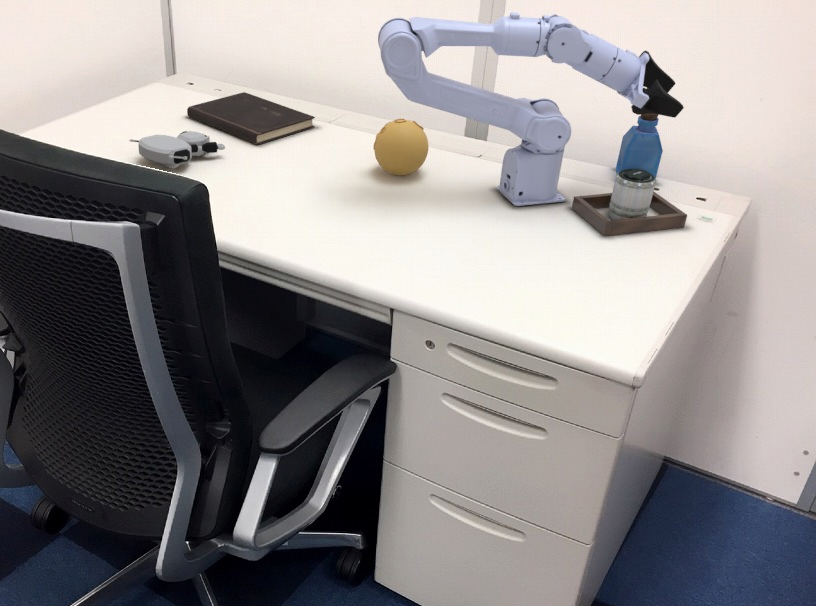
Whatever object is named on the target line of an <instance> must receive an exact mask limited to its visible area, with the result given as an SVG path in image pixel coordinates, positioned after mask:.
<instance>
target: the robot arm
mask: <svg viewBox="0 0 816 606" xmlns="http://www.w3.org/2000/svg"><path fill="white" fill-rule="evenodd" d="M377 43H378V47H379V51H380V59H381V62H382V66H383V69H384V71H385V74H386V75H387V76H388V77H389V78H390V79H391V81H392V82H393V83H394V84H395V85H396V87H397V88H398V90H399V91H400V92H401V93H402V95H403V96H404V97H405V98H406V99H407V100H408V101H410V102H413V103H415V104H418V105H422V106H426V107H429V108H432V109H435V110H439V111H442V112H446V113H448V114H453V115H455V116H460V117H463V118H466V119H469V120H473V121H475V122H479V123H483V124H487V125H489V126H492V127H495V128H500V129H503V130H506V131H508V132H511V133H512V134H514V135H515V136H517V137H518V138H520V139H521V143H520V144H519V145H517V146H514V147H511V148H508V149H507V150H506V151H505V153H504V155H503V159H502V166H501V173H500V179H499V186H497V187H496V189H497V191H498V192H500V194H502V195H503V196H504V197H505V198H506V199H507V200H508V201H509V202H510V203H511V204H512V205H513V206H514V207H522V206H531V205H532V206H533V205H543V204H552V203H563V202H565V201H566V198H565V196H563V195H562V194H560V192H559V191H557V190H558V187H559V180H560V175H561V169H562V164H563V158H564V152H565V147H566V145H567V144H568V143H569V141H570V139H571V135H572V126H571V123H570V121H569V120H568V119H567V118H566V117H565V116H564V115H563V113H562V111H561V110H560V107H559V106H558V104H557V103H556V102H555V101H553V100H552V99H550V98H545V97H544V98H537V99H529V98H527V97H520V98H515V97H511V96H508V95H504V94H502V93H501V94H500V93H498V92H494V91H491V90H488V89H485V88H481V87H477V86H474V85H472V84H468V83H464V82H461V81H458V80H455V79H452V78H448V77H445V76H442V75H439V74H435V73H432V72H429V71H428V69H427V68H426V65H425V62H424V60H423V55H422V54H424V56H425V59H426V58H429V57H430V56H431V55H432V54H434V53H435V52H436V51H437V50H439V49H440V48H441V47H490V48H491V49H492V51H493V52H494V53H495V54H496V55H497V56H509V57H527V58H528V57H529V58H539V57H541V56H546V57H547V58H548V59H549V60H551V63H553V64H566V65H568V66H570V67H571V69H573V70H575V71H577V72H578V73H580V74H582V75H584V76H587V77H588V78H591V79H592V80H594V81H596V82H597V83H599V84H602V85H604V86H606V87H607V88H610V89H611V90H613V91H616V93H617V94H618V95H620V96H622V97H623V98H625V99H627V100H628V101H629V102H630V104H631V106H630V108H631V112H632V113H633V114H635V115H636V116H637V115H638V116H641V114H658V116H664V117H669V118H677V117H678V115H679V114H680V113H681V112H682V111H683V110H684V108H685V107H684V104H682V103H681V102H680V101H679V100H678V99H677V98H675V97H673V96H672V95H671V94H670V93H669V92H670V91H672V89H673V87H675V85H676V82H675V80H674V79H673V78H672V77H671V76H670V75H669V74H667V72H665V71H664V70H663V69H662V68H661V67H660V66H659V65H658V64H657V63H656V61H655V60H654V59H653V57H652V56H651V54H650V52H649V51H648V50H643V51H642V52H641V53H640V55H637V53H636V52H633V51H631V50H629V49H626V50H624V49H623V48H620V47H618V46H616V45H615V44H613V43H611V42H609V41H606V40H605V39H603V38H602V37H599V36H597V35H596V34H593V33H589V32H588V31H587V30H586V29H581V28H579V27H578V26H576V25H574V24H573V23H572V22H571V21H570V20H569V19H568V18H567V17H564V16H561V15H558V14H551V15H548V14H547V15H546V14H543V15H541V17H526V16H521V15H520V13H519V12H514V11H513V12H510V13H509V15H508V16H505V15H503V16H500V17H499V18H498V19H497V20H495V21H494V22H493V23H483V22H473V21H463V20H452V19H444V18H433V17H432V18H431V17H419V16H414V17H408V19H406V18H404V17H394V18H390V19H389V20H387V21H385V22H384V23H383V24H382V25H381V27H380V28H379V32H378V33H377Z"/></svg>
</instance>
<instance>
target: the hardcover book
mask: <svg viewBox="0 0 816 606" xmlns="http://www.w3.org/2000/svg"><path fill="white" fill-rule="evenodd" d="M186 113H187V117H188V118H190V119H192V120H196V121H198V122H201V123H203V124H206V125H208V126H210V127H212V128H214V129H215V128H216V129H218V130H221V131H222V132H225V133H228V134H231V135H233V136H235V137H238V138H240V139H243V140H245V141H247V142H249V143H252V144H255V145H257V146H260V145H263V144H266V143H270V142H273V141H275V140H279V139H282V138H286V137H289V136H291V135H295V134H298V133H301V132H305V131H308V130H311V129H315V128H316V126H315V125H313V120H314V119H316V117H315V116H313V115H311V114H308V113H304V112H302V111H300V110H297V109H294V108H290V107H288V106H285V105H282V104H279V103H276V102H274V101H271V100H268V99H265V98H262V97H259V96H256V95H254V94H251V93H248V92H246V91H243V92H240V93H239V92H238V93H235V94H232V95H228V96H224V97H220V98H218V99H217V98H216V99H212V100H209V101H206V102H205V101H204V102H201V103H197V104H193V105H190V106H188V107H187V109H186Z"/></svg>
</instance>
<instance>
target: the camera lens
mask: <svg viewBox="0 0 816 606" xmlns="http://www.w3.org/2000/svg"><path fill="white" fill-rule="evenodd" d="M656 184H657V177H656V178H655V177H654V175H653V174H651V173H650V172H648V171H646V170H643V169H637V168H634V169H633V168H631V169H625V170H622V171H620V172H619V173H618V174H617V173H616V175H615V178H614V183H613V188H612V192H611V193H612V196H611V201H610V205H609V207H608V212H609V214H608V216H609V218H610V220H619V219H628V218H638V217H647V216H648V214H649V210H650V208H651V207H650V203H651V199H652V195H653V192H655V187H656Z"/></svg>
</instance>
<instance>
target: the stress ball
mask: <svg viewBox="0 0 816 606" xmlns="http://www.w3.org/2000/svg"><path fill="white" fill-rule="evenodd" d="M424 129H425V128H424V127H423V126H422V125H420V124H419V123H418V122H417V121H415V120H413V121H412V120H409V119H405V118H397V119H394V120H393V121H388V122H387V123H386V124H385V125H384V126H383V127H381V129H380V131H379V132H377V133H376V136H375V139H374V142H373V150H374V156H375V159H376V161H377V163H378V165H379V166H380V167H381V168H382V169H383V170H384V171H385V172H387V173H389V174H391V175H394V176H407V175H411V174H413V173H415V172H417V170H418V169H420V168H421V167H422V166H423V165H424V163H425V162H426V160H427V157H428V154H429V147H430V146H429V140H428V135H427V134H426V132H425V131H424Z"/></svg>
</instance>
